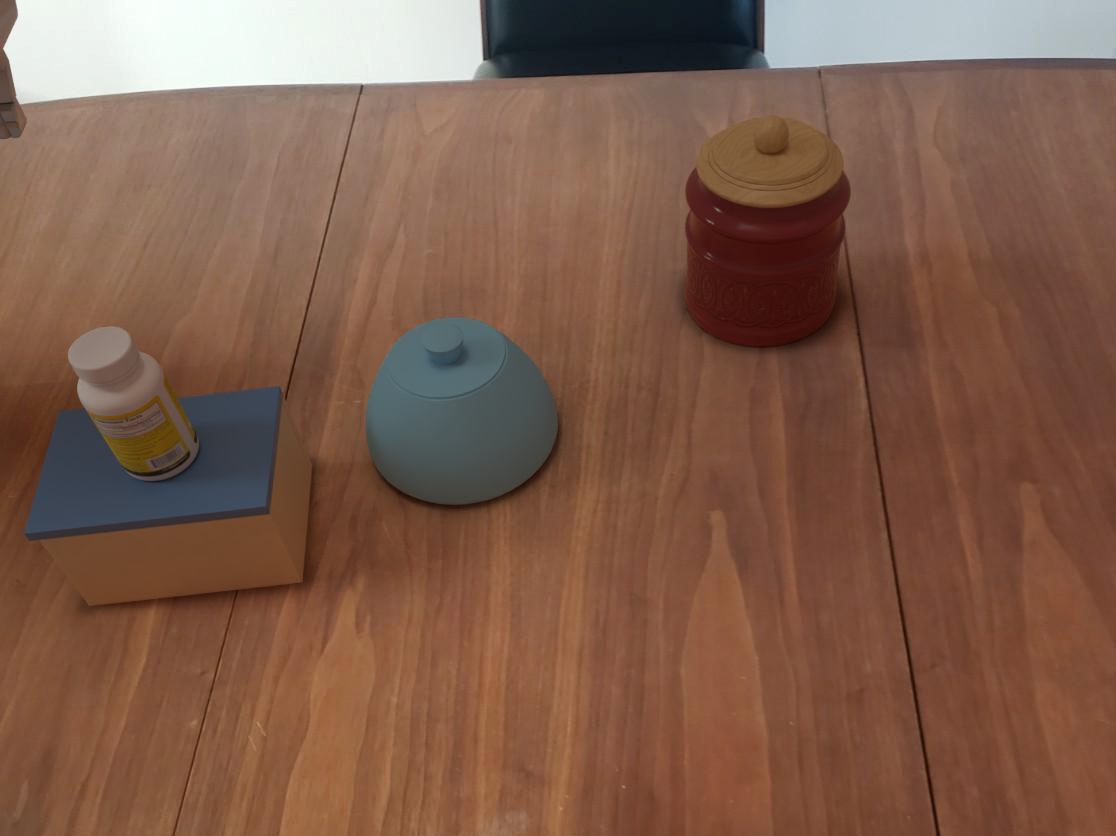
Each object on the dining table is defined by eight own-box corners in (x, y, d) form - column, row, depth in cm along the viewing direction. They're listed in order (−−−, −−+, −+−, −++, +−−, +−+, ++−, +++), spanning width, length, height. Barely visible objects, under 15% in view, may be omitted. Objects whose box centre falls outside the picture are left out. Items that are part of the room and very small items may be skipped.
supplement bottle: (143, 423, 77) (82, 314, 69) (213, 431, 76) (158, 321, 68) (109, 479, 74) (40, 372, 66) (180, 488, 73) (119, 380, 65)
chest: (96, 615, 79) (38, 540, 72) (122, 497, 86) (71, 417, 79) (306, 591, 79) (270, 514, 72) (316, 475, 86) (283, 394, 79)
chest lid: (29, 541, 72) (23, 533, 72) (63, 418, 79) (58, 410, 78) (269, 514, 72) (266, 506, 72) (283, 393, 79) (279, 385, 78)
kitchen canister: (727, 377, 90) (737, 188, 76) (659, 288, 97) (656, 101, 83) (862, 328, 92) (896, 136, 78) (786, 245, 100) (804, 56, 85)
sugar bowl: (436, 364, 93) (409, 251, 84) (591, 412, 89) (581, 298, 79) (338, 484, 85) (296, 374, 76) (503, 543, 81) (480, 434, 72)
